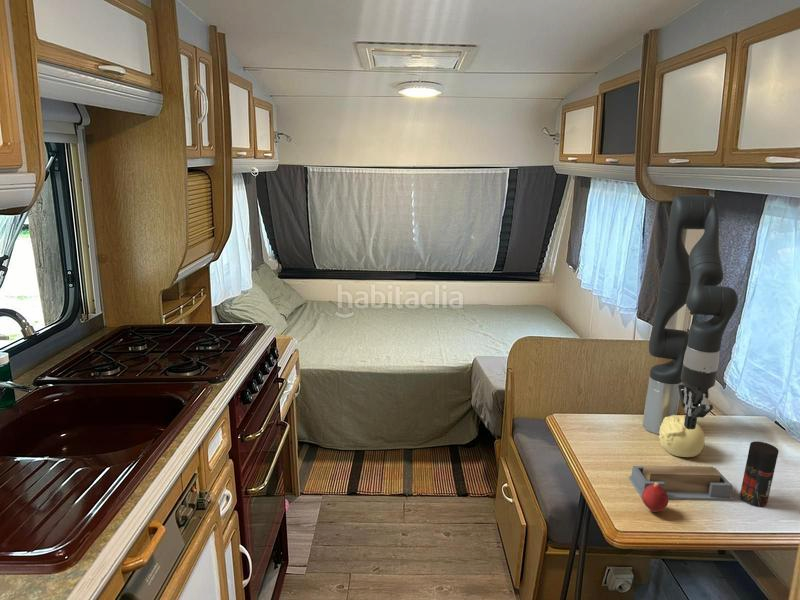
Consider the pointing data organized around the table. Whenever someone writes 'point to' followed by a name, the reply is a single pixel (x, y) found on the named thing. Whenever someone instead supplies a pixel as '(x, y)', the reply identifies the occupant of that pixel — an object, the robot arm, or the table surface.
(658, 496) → the onion
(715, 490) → the endcaps
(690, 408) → the robot arm
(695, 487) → the slat
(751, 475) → the deodorant
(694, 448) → the sculpture
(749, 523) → the table surface
